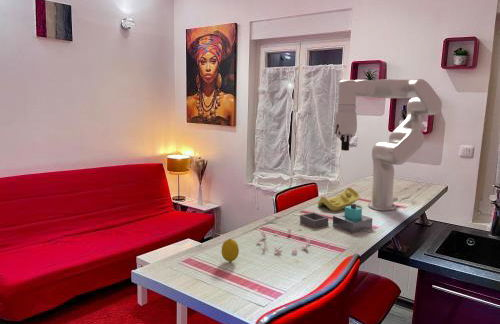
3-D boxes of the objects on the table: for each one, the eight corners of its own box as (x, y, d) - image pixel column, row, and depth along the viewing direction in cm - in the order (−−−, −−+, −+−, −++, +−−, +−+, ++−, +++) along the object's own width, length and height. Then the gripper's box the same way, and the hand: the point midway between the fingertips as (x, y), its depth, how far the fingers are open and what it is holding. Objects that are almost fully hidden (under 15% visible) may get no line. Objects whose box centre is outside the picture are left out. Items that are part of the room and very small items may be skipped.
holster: (313, 218, 162) (313, 212, 161) (328, 224, 154) (328, 217, 154) (300, 221, 158) (300, 215, 158) (314, 228, 150) (314, 221, 150)
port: (351, 220, 159) (351, 211, 159) (371, 227, 150) (372, 218, 150) (332, 225, 154) (333, 215, 153) (352, 233, 145) (353, 223, 144)
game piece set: (246, 242, 137) (246, 232, 136) (286, 231, 148) (286, 222, 148) (280, 261, 121) (281, 249, 120) (323, 246, 133) (323, 236, 132)
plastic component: (335, 207, 170) (320, 194, 177) (330, 219, 174) (315, 206, 181) (363, 197, 182) (348, 185, 188) (357, 208, 186) (343, 196, 192)
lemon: (225, 267, 116) (224, 243, 115) (219, 260, 121) (218, 237, 120) (241, 264, 118) (241, 240, 117) (235, 257, 123) (234, 234, 122)
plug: (351, 223, 155) (351, 201, 154) (361, 227, 151) (362, 205, 149) (344, 225, 153) (344, 203, 152) (353, 229, 149) (354, 206, 147)
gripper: (352, 108, 169) (350, 148, 173) (328, 109, 162) (326, 150, 165) (365, 108, 163) (363, 149, 166) (340, 109, 155) (339, 152, 158)
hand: (345, 150), depth 166 cm, fingers closed
